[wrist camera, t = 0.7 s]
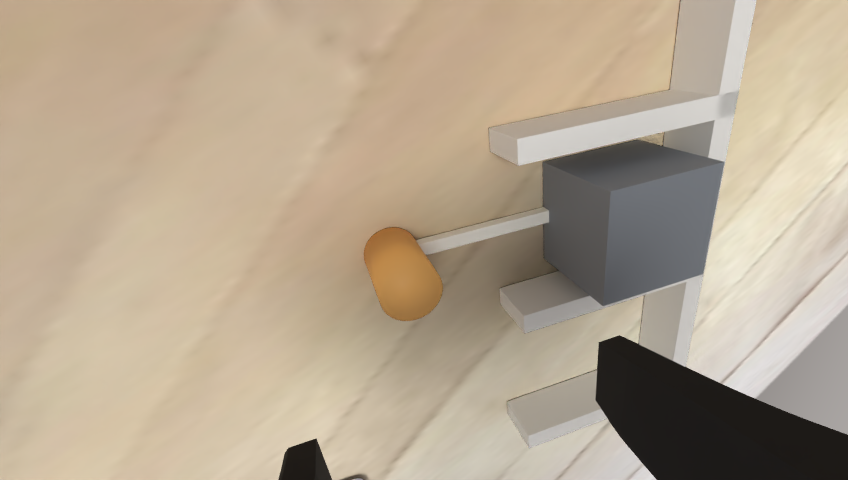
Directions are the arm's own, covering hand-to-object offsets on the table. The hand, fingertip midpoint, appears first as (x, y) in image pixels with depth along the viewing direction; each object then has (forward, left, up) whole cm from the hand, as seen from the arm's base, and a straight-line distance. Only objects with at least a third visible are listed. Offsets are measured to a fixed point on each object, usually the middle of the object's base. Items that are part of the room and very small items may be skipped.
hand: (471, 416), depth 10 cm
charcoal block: (0, -6, -9) cm, 11 cm away
